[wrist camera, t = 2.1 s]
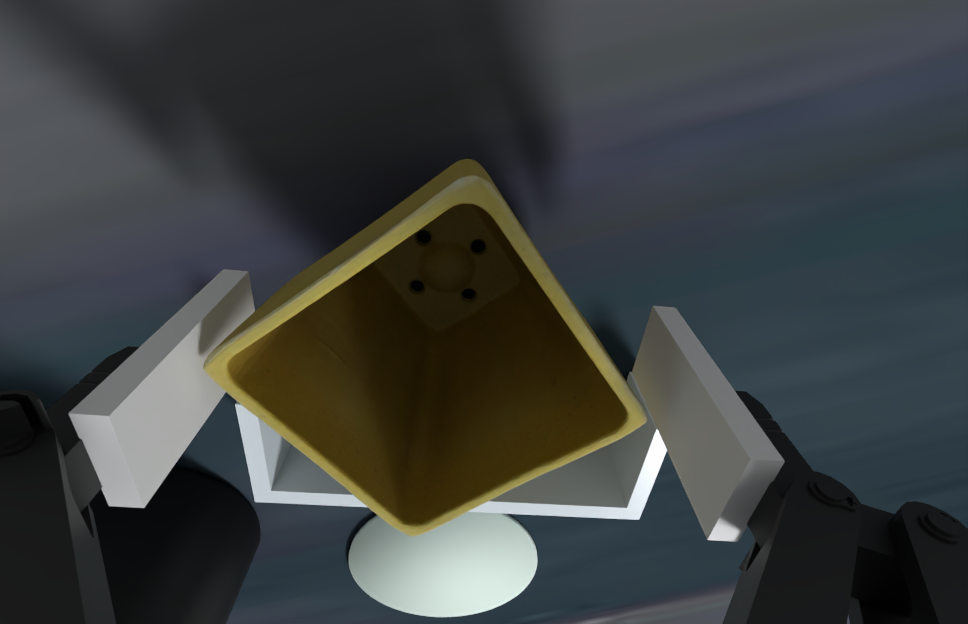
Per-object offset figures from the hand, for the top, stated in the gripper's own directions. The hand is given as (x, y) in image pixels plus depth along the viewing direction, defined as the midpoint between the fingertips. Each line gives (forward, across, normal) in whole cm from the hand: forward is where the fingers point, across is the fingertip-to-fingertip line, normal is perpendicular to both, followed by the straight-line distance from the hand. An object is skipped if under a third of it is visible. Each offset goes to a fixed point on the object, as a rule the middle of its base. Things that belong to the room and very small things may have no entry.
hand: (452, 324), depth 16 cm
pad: (+5, +1, -21) cm, 22 cm away
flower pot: (+6, 0, 0) cm, 6 cm away
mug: (+5, -16, -18) cm, 25 cm away
